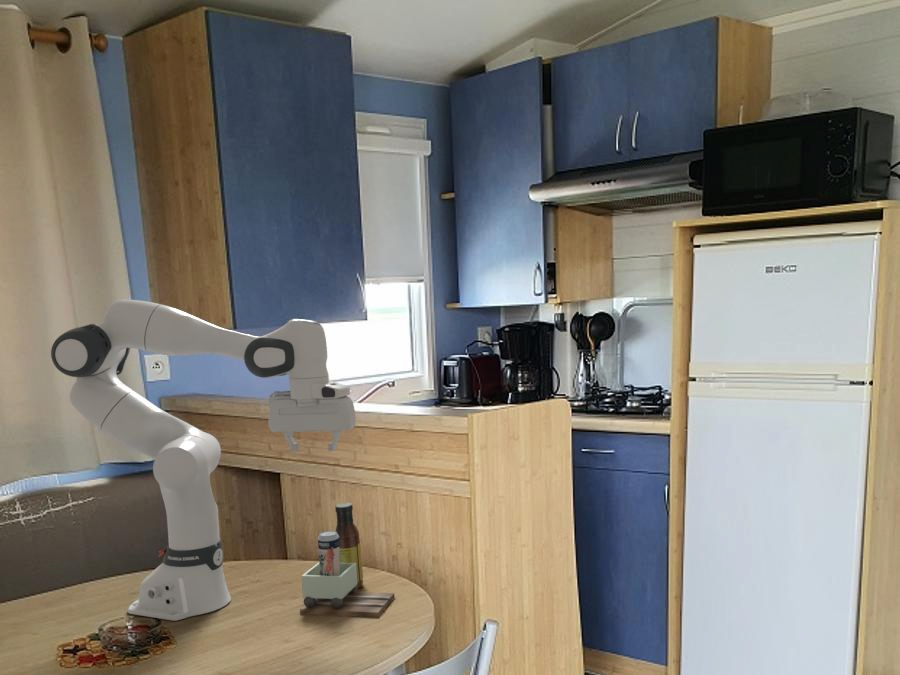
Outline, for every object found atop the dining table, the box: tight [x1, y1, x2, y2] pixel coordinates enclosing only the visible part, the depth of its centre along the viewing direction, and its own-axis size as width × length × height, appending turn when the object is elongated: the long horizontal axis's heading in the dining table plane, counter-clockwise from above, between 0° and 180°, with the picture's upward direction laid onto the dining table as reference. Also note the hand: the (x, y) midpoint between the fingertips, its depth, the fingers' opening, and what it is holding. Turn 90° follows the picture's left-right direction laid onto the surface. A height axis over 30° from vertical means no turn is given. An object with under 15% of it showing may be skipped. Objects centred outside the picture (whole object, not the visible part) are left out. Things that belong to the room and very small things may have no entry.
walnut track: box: [299, 591, 395, 618], centre depth 164 cm, size 18×11×1 cm, turn 76°
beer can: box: [317, 530, 341, 576], centre depth 165 cm, size 5×5×12 cm
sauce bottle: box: [334, 502, 364, 589], centre depth 175 cm, size 7×6×20 cm
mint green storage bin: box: [301, 561, 358, 609], centre depth 165 cm, size 9×9×7 cm
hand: (313, 450), depth 168 cm, fingers open, 8 cm apart
